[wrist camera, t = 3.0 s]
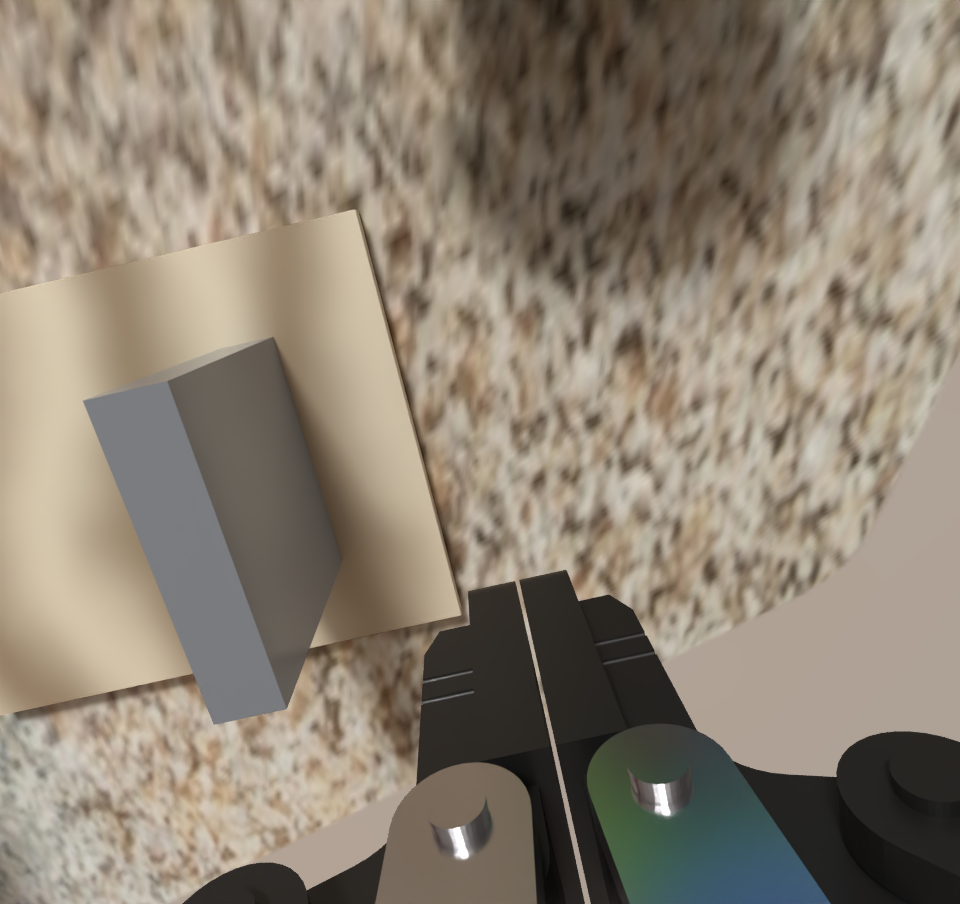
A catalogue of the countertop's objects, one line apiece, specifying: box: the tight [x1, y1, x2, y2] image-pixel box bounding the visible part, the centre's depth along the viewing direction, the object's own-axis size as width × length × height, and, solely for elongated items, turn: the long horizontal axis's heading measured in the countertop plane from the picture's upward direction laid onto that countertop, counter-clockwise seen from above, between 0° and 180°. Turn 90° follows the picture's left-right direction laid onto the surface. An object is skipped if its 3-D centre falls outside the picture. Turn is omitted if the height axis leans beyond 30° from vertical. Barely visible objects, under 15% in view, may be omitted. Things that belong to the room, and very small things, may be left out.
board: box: [0, 209, 461, 715], centre depth 25 cm, size 20×16×1 cm
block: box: [83, 337, 343, 725], centre depth 21 cm, size 2×9×9 cm, turn 13°
